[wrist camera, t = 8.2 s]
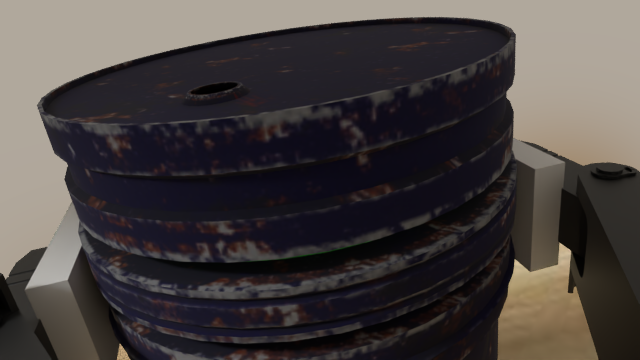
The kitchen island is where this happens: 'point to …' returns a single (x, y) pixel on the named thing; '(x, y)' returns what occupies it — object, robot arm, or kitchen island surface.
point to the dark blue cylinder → (300, 191)
